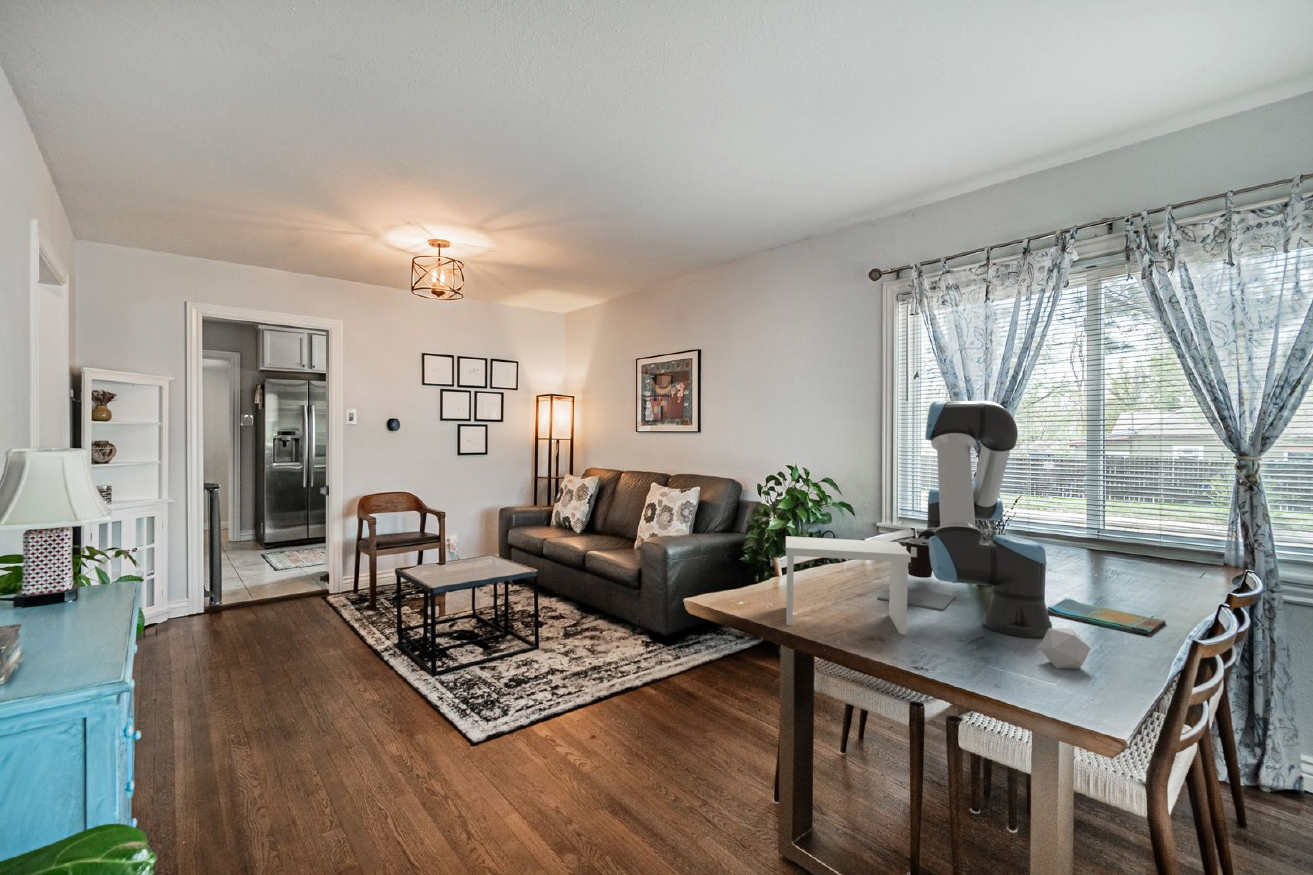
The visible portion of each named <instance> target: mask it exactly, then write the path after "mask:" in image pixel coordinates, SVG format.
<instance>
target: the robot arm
mask: <svg viewBox="0 0 1313 875" xmlns="http://www.w3.org/2000/svg"><path fill="white" fill-rule="evenodd" d="M948 400H949V399H948ZM948 400H941V401H940V400H937V401H933V402H932V403H930V406H929V409H928V415H927V421H926V428H925V436H924V438H925V440H927V441H930V444H931V447H932V448H933V450H935V451H936V456H937V457H936V458H937V475H938V476H937V478H938V480H937V481H938V488H932V489H930V490H929V491H928V496H927V498H928V499H927V526H926V527H927V528H926V529H924V530H923V531H921V532H920V533H919V535H918V537H915V538H912V537H910V536H906V537H905V541H906V540H907V539H923V540H929V556H930V562H931V567H932V574H933V576H934V577H935V579H936V580H939V581H941V582H949V583H952V584H957V583H958V584H968V585H979V586H980V585H981V586H991V587H992V591H991V597H990V600H989V601H988V605H987V607H986V611H985V612H984V614H983V624H984V626H985V627H986V628H989V630H993V631H995V632H998V633H1001V634H1005V635H1009V636H1015V637H1021V638H1030V639H1042V638H1044V636H1045V635H1046V633H1047V631H1048V629H1049V628H1053V623H1052V621H1051V619H1050V615H1048V612H1047V608H1048V607H1047V605H1046V602H1045V600H1046V571H1047V570H1046V568H1047V567H1046V566H1047V556H1046V554H1047V553H1046V549H1045V547H1044V546H1043V545H1042V544H1041V543H1038V542H1037V541H1034V540H1030V539H1026V538H1022V537H1017V536H1013V535H1008V534H1007V535H1006V534H994V535H993V537H992V540H991V539H984V538H983V531H982V530H980V528H978V527H976V520H977V521H978V520H979V521H988V522H989V521H999V520H1001V519H1002V517H1003V514H1004V513H1003V511H1004V505H1003V500H1002V499H1001V498H1000V497H999V495H1000V491H1001V487H1002V483H1003V479H1004V476H1005V473H1006V468H1007V464H1008V461H1009V457H1010V454H1011V453H1010V452H1011V451H1012V450H1013V449H1015V447H1016V445H1017V440H1018V436H1019V432H1018V426H1017V423H1016V421H1015V419H1014V417H1013V415H1012V414H1011V413H1010V412H1009V410H1007V409H1006V408H1005V407H1003V406H1002V405H1000V404H999V403H996V402H993V401H990V400H978V401H977V400H949V401H948ZM977 442H979V444H980V445H981V449H980V452H979V456H978V457H979V458H978V464H977V467H976V472H975V476H974V481H973V473H972V462H971V461H972V460H971V458H972V457H971V456H972V455H971V449H973V448H974V447H975V446H976V443H977ZM914 544H919V543H914ZM922 545H928V544H927V543H924V542H922ZM911 557H917V548H915V547H911Z"/></svg>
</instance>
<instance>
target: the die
mask: <svg viewBox="0 0 1313 875" xmlns="http://www.w3.org/2000/svg"><path fill="white" fill-rule="evenodd" d="M1038 649H1039V651H1040V652H1041V653H1042V654H1043V655H1044V657H1046V658H1047V659H1048V661H1050V663H1051V664H1052V665H1053V666H1054V668H1056V669H1064V670H1065V669H1072V670H1073V669H1074V670H1076V669H1077V670H1079V669H1081V668H1082V666H1083V664H1084V662H1085V660H1086V659H1087V657H1088V656H1089V654H1090V653H1089V652H1090V651H1091V649H1092V648H1091V647H1090V645H1088V644H1087V643H1086V641H1084V640H1083V638H1082V637H1080V635H1078V634H1077V633H1076V631H1074V629H1072V628H1057V627H1056V628H1054V627H1052V628H1049V629H1048V631H1047V633H1046V635H1045V636H1044V638H1043V639H1042V641H1040V644H1039V646H1038Z"/></svg>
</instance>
